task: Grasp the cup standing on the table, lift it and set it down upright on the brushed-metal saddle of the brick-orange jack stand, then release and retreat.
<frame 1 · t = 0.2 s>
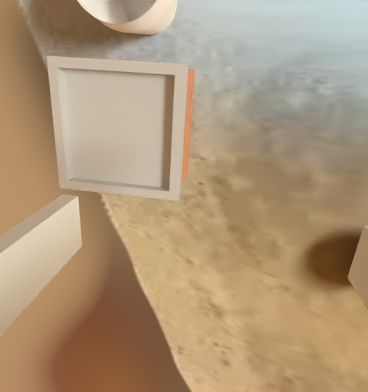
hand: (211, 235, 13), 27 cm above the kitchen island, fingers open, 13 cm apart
stand: (140, 122, 39), on the kitchen island
cup: (150, 4, 34), on the kitchen island
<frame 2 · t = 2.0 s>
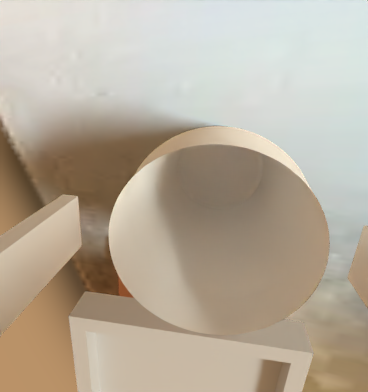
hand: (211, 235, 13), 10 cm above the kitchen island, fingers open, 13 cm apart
stand: (194, 306, 28), on the kitchen island
cup: (219, 168, 23), on the kitchen island
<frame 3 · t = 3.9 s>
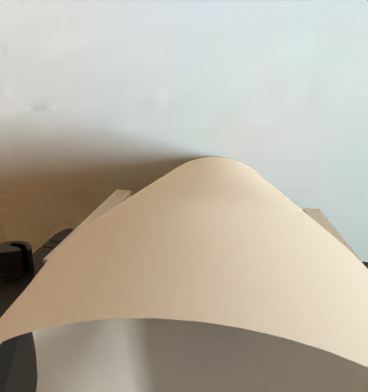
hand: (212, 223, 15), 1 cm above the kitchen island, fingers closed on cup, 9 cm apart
cup: (212, 214, 16), on the kitchen island, touching gripper
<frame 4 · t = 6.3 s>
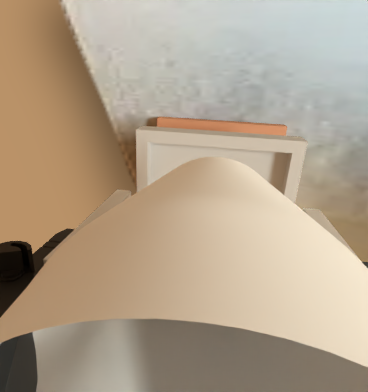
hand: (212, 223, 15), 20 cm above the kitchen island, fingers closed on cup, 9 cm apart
stand: (215, 179, 35), on the kitchen island
cup: (212, 214, 16), point 19 cm above the kitchen island, touching gripper
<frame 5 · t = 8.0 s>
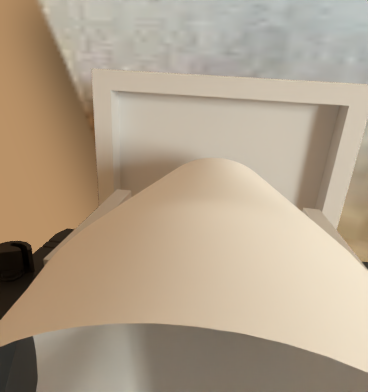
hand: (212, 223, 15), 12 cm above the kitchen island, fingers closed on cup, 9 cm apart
stand: (217, 164, 26), on the kitchen island
cup: (212, 215, 16), point 11 cm above the kitchen island, touching gripper
when the fingers open (11 cm above the kitchen island, at t = 9.1 s): cup drops 1 cm, resting on stand.
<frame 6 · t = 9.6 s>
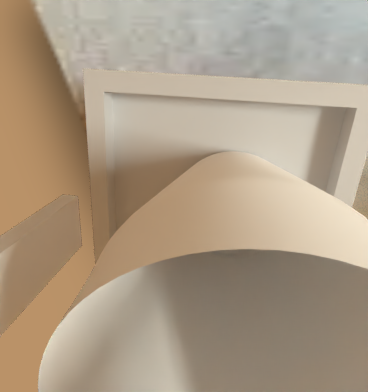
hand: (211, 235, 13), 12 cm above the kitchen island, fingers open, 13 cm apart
stand: (216, 168, 25), on the kitchen island
cup: (231, 205, 17), point 8 cm above the kitchen island, touching stand
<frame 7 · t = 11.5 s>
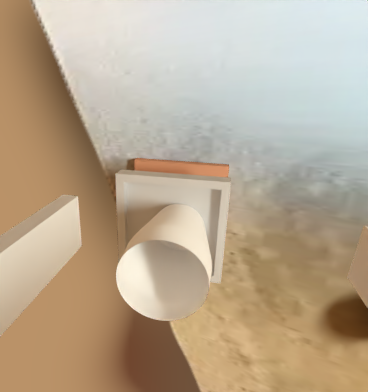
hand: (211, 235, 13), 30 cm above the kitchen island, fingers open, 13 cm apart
stand: (180, 204, 46), on the kitchen island
cup: (179, 226, 38), point 8 cm above the kitchen island, touching stand
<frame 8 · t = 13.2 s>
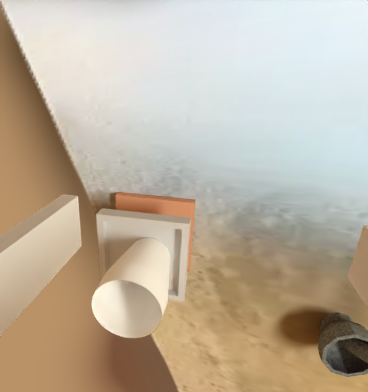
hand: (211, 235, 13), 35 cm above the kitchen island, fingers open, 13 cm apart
stand: (155, 230, 53), on the kitchen island
mortar and pestle: (339, 324, 56), on the kitchen island
cup: (150, 255, 46), point 8 cm above the kitchen island, touching stand
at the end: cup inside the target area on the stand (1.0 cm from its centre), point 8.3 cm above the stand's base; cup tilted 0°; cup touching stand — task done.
